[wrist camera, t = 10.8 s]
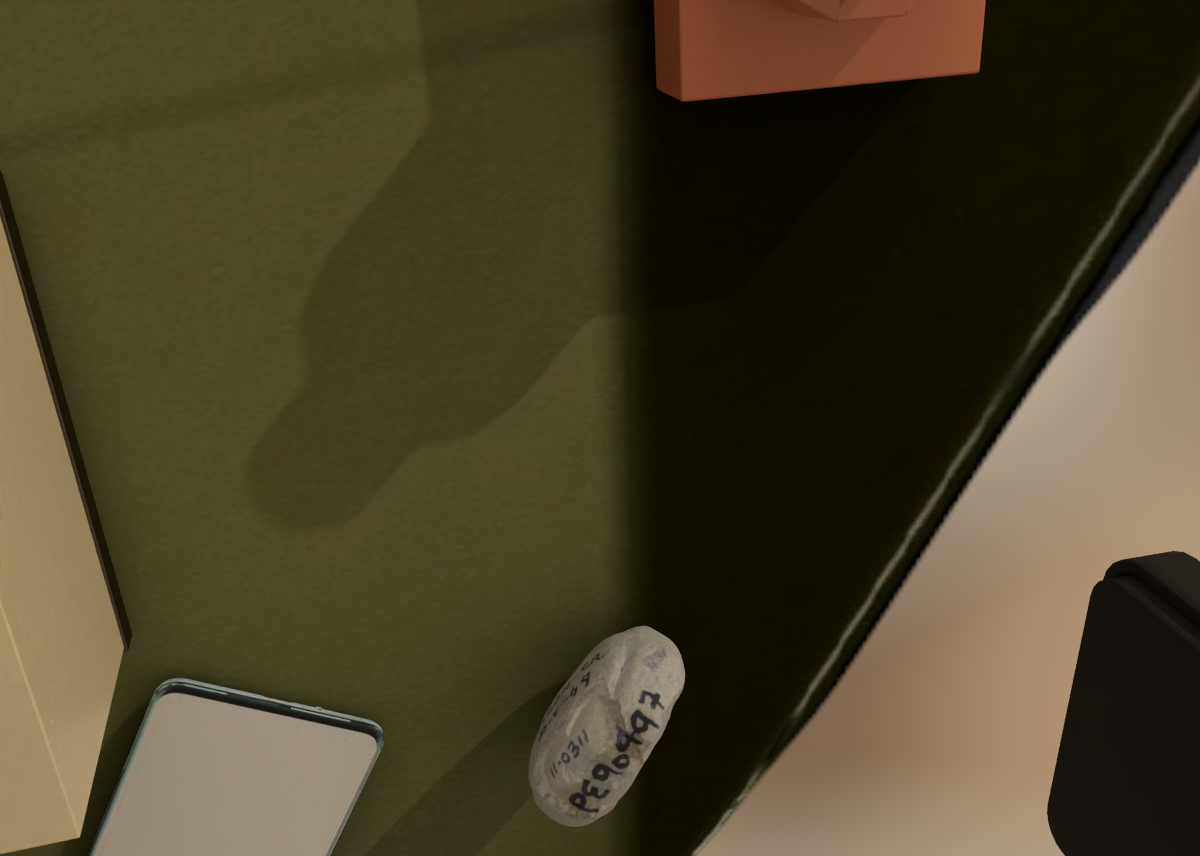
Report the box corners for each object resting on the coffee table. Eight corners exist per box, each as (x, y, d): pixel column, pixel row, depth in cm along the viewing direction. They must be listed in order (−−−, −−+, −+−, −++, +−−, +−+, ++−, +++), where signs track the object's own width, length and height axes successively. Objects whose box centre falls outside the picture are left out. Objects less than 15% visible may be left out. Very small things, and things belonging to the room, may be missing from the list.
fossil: (583, 762, 38) (621, 875, 33) (492, 739, 36) (520, 853, 32) (673, 608, 36) (725, 705, 32) (581, 578, 35) (622, 675, 30)
